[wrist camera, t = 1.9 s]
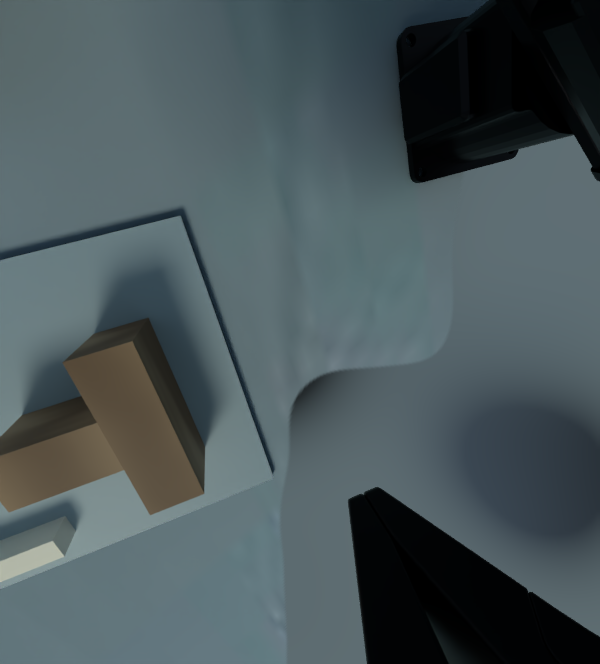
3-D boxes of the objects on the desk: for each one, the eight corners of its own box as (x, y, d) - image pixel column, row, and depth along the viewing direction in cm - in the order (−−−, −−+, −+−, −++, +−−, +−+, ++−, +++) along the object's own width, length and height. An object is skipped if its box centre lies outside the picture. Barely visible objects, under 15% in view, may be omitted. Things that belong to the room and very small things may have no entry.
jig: (181, 215, 15) (177, 214, 13) (272, 474, 20) (278, 497, 19) (-452, 372, 11) (-574, 399, 9) (-125, 633, 17) (-163, 680, 15)
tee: (148, 317, 15) (132, 341, 12) (205, 447, 18) (204, 493, 15) (-12, 364, 14) (-78, 405, 11) (75, 495, 17) (44, 557, 14)
